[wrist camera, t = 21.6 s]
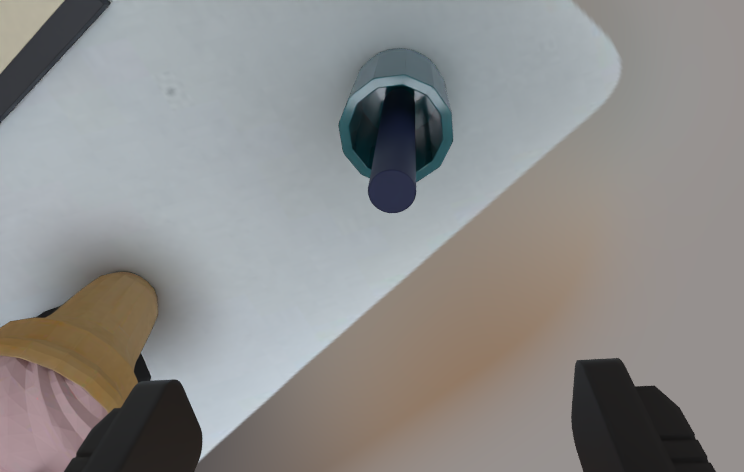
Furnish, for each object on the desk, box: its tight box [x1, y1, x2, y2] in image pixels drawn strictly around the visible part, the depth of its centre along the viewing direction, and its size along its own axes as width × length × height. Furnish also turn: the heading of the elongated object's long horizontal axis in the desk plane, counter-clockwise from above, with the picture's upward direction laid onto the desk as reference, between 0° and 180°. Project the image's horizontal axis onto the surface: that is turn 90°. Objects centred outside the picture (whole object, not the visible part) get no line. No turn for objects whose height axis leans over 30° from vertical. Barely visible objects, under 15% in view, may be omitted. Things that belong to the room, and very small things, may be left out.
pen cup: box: [339, 48, 453, 182], centre depth 28 cm, size 5×5×7 cm
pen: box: [368, 89, 416, 213], centre depth 25 cm, size 2×2×13 cm
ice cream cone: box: [0, 272, 158, 472], centre depth 31 cm, size 11×11×20 cm
